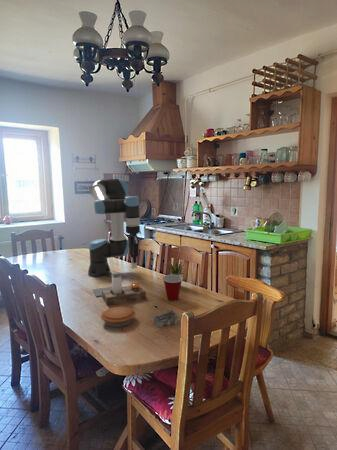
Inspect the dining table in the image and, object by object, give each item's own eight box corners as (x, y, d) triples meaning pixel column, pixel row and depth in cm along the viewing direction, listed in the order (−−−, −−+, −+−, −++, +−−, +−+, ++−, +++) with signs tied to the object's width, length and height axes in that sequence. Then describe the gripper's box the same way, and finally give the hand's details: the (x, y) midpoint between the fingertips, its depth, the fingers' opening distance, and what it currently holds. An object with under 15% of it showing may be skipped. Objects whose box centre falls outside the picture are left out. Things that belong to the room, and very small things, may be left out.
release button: (130, 293, 176) (130, 283, 175) (138, 292, 178) (137, 282, 177) (132, 295, 172) (132, 286, 171) (140, 294, 174) (140, 285, 173)
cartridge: (112, 298, 173) (110, 273, 171) (121, 296, 174) (119, 272, 172) (114, 301, 168) (112, 275, 166) (123, 299, 170) (122, 274, 168)
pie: (136, 313, 152) (136, 303, 151) (134, 328, 137) (134, 317, 136) (104, 314, 152) (104, 304, 151) (98, 330, 136) (97, 319, 136)
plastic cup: (165, 304, 163) (165, 281, 161) (160, 296, 173) (160, 275, 172) (185, 301, 166) (185, 279, 164) (179, 294, 176) (179, 273, 174)
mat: (92, 290, 186) (92, 289, 186) (113, 287, 190) (112, 286, 190) (96, 297, 175) (96, 296, 175) (117, 293, 179) (117, 292, 179)
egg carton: (174, 317, 148) (173, 309, 147) (180, 324, 141) (179, 315, 140) (152, 321, 144) (151, 312, 143) (157, 328, 137) (156, 319, 136)
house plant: (192, 283, 194) (192, 257, 192) (187, 291, 181) (187, 263, 178) (170, 282, 198) (169, 256, 195) (163, 289, 185) (163, 262, 182)
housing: (102, 297, 175) (101, 290, 174) (138, 291, 182) (138, 284, 182) (107, 305, 163) (106, 298, 162) (146, 298, 171) (145, 291, 170)
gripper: (122, 224, 174) (124, 265, 178) (129, 227, 162) (130, 272, 166) (135, 223, 177) (137, 264, 180) (143, 226, 165) (144, 270, 169)
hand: (134, 268), depth 173 cm, fingers closed
